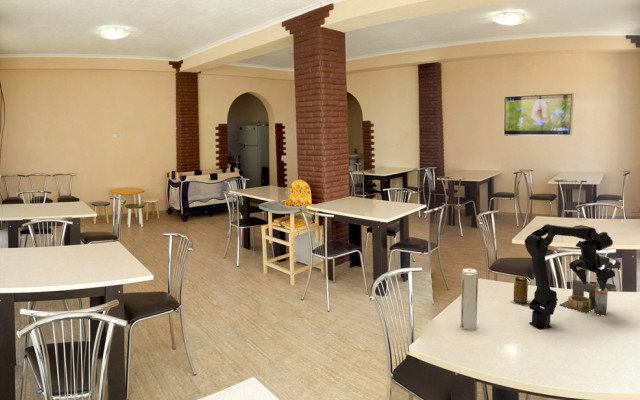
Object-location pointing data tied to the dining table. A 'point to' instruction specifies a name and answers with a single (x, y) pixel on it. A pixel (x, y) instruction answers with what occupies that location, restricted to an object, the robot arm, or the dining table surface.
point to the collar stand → (581, 297)
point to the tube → (600, 301)
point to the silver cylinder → (469, 299)
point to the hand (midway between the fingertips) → (593, 287)
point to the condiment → (520, 291)
